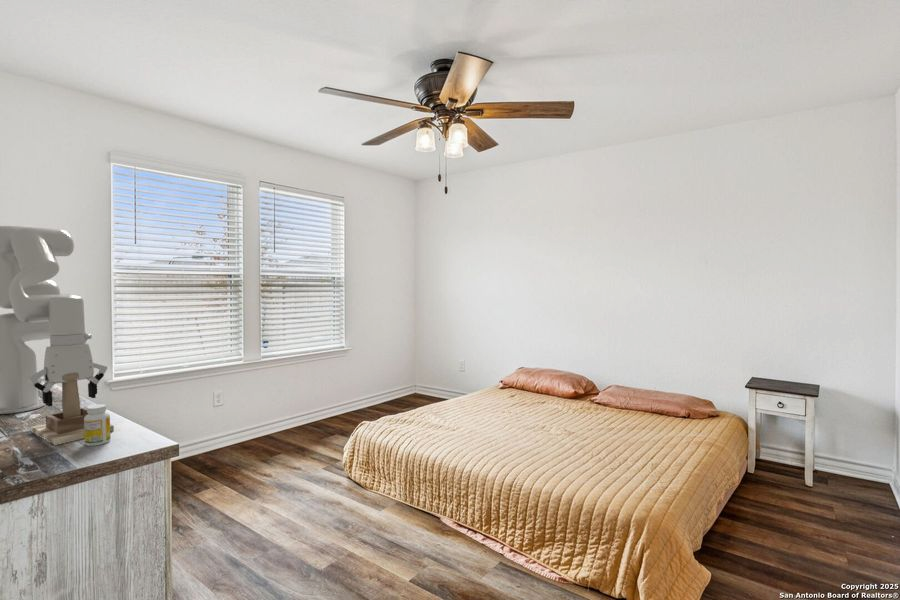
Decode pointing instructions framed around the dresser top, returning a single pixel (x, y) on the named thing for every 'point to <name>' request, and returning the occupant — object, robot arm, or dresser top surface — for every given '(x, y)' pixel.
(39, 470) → the dresser top surface
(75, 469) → the dresser top surface
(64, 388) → the handle
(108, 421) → the supplement bottle
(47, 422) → the wooden base with box
